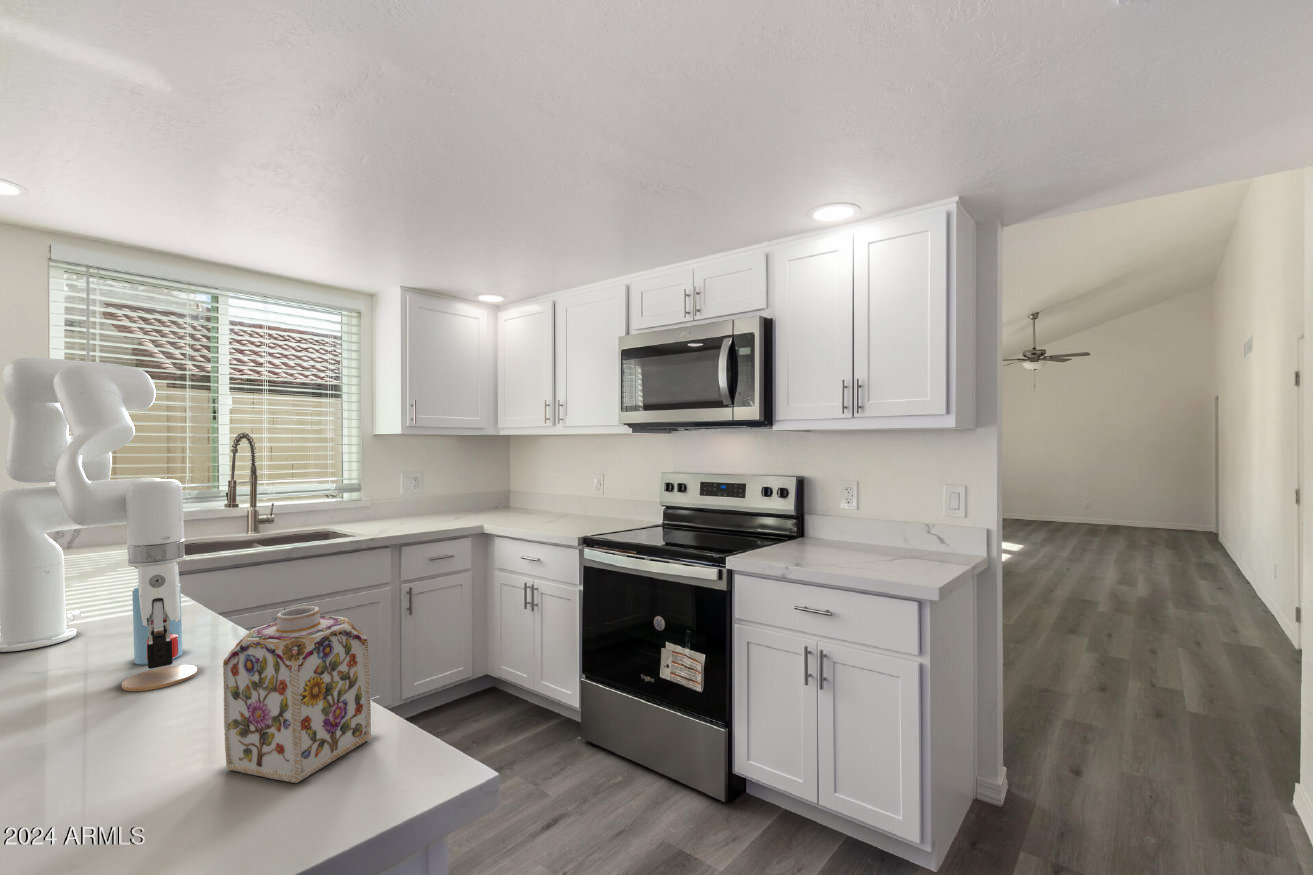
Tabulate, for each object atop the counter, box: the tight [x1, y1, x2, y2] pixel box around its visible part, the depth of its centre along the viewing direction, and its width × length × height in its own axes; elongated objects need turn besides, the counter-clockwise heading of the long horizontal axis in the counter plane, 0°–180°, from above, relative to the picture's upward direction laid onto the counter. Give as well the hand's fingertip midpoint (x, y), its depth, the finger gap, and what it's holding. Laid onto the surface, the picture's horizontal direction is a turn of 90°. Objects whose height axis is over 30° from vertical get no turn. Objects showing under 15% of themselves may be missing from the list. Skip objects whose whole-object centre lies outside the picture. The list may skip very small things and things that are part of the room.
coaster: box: [121, 664, 198, 692], centre depth 107 cm, size 10×10×1 cm
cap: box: [147, 634, 178, 661], centre depth 107 cm, size 4×4×3 cm
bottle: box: [131, 583, 183, 666], centre depth 118 cm, size 7×7×18 cm
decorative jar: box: [222, 605, 372, 784], centre depth 79 cm, size 12×12×18 cm
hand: (160, 661), depth 107 cm, fingers closed on cap, 4 cm apart
